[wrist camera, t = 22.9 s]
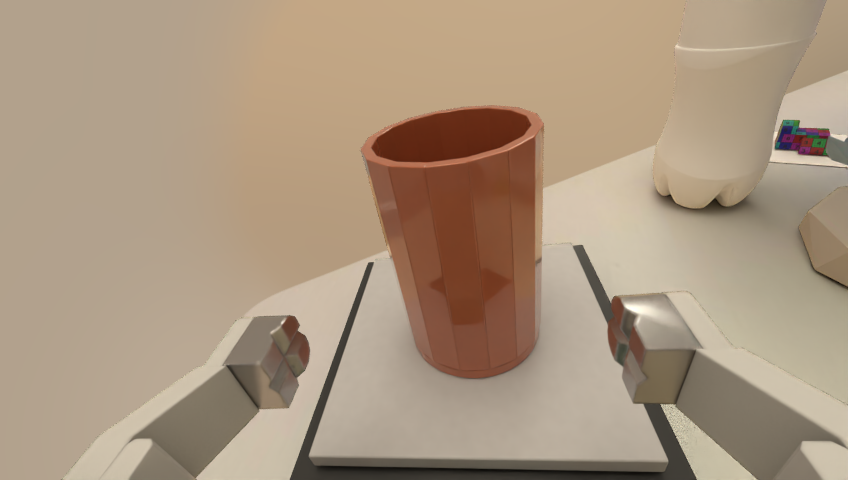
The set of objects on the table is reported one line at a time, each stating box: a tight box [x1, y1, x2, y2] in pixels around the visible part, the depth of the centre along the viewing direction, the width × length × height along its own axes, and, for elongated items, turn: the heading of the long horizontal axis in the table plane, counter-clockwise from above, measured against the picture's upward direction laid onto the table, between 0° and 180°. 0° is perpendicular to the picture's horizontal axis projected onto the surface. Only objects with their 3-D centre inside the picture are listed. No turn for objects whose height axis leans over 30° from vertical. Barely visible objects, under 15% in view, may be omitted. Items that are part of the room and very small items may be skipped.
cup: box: [361, 105, 544, 378], centre depth 16 cm, size 6×6×10 cm
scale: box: [290, 243, 697, 480], centre depth 18 cm, size 15×17×3 cm
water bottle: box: [653, 0, 826, 209], centre depth 23 cm, size 7×7×25 cm
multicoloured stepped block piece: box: [773, 120, 832, 156], centre depth 32 cm, size 4×3×2 cm
